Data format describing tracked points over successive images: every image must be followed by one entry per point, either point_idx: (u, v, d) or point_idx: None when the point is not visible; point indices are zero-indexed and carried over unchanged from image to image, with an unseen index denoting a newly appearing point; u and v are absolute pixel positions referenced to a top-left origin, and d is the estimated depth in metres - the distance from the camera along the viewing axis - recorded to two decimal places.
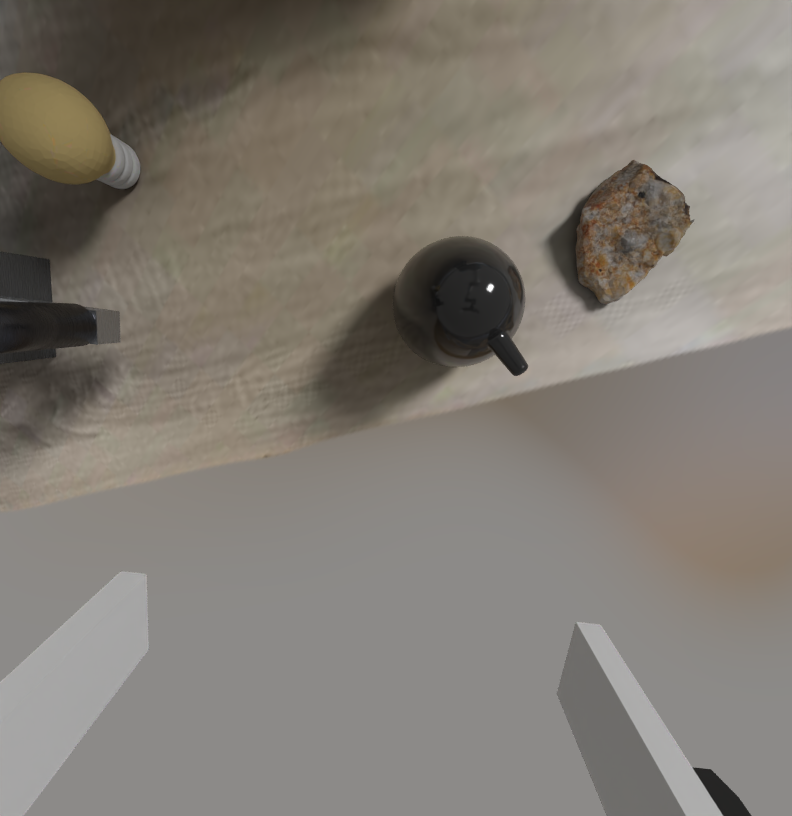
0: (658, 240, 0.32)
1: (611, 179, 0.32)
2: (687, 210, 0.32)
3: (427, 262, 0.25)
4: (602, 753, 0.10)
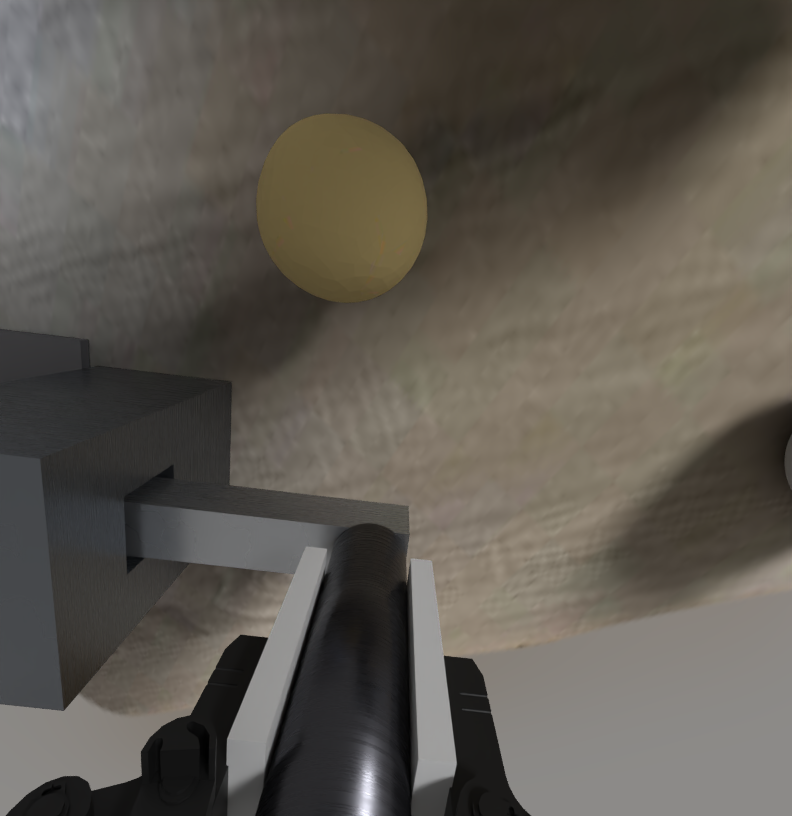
0: None
1: None
2: None
3: None
4: None
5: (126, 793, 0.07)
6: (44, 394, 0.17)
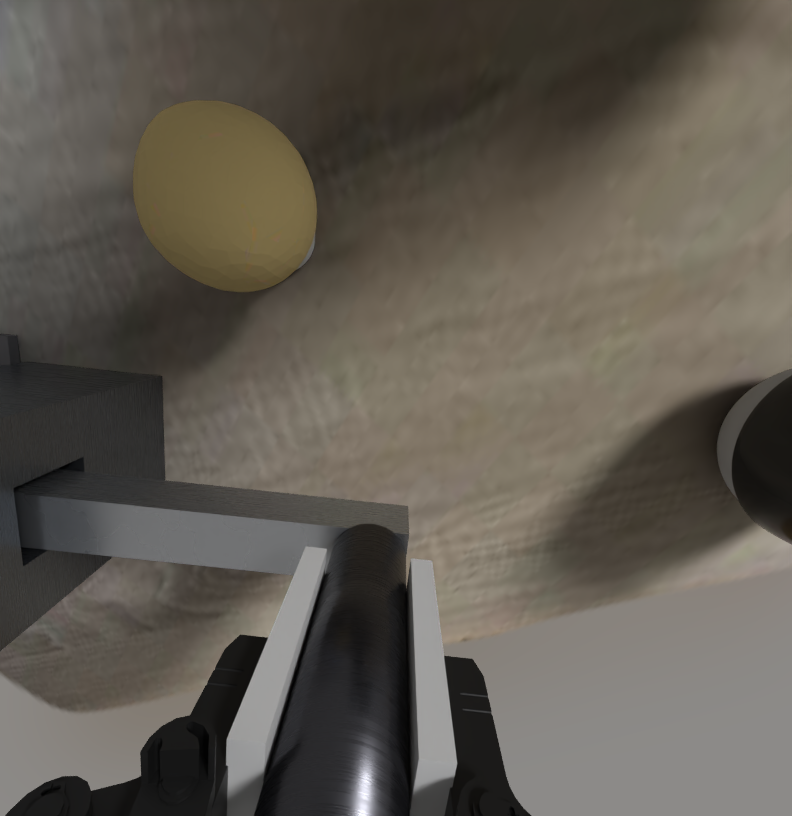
0: None
1: None
2: None
3: None
4: None
5: (126, 793, 0.07)
6: None
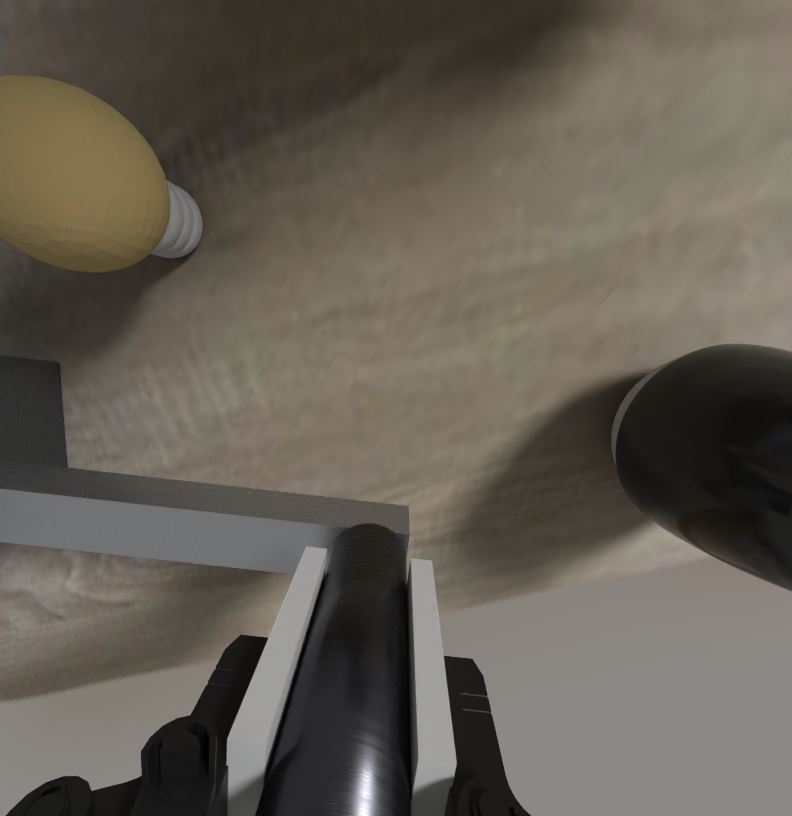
0: None
1: None
2: None
3: None
4: None
5: (126, 793, 0.07)
6: None
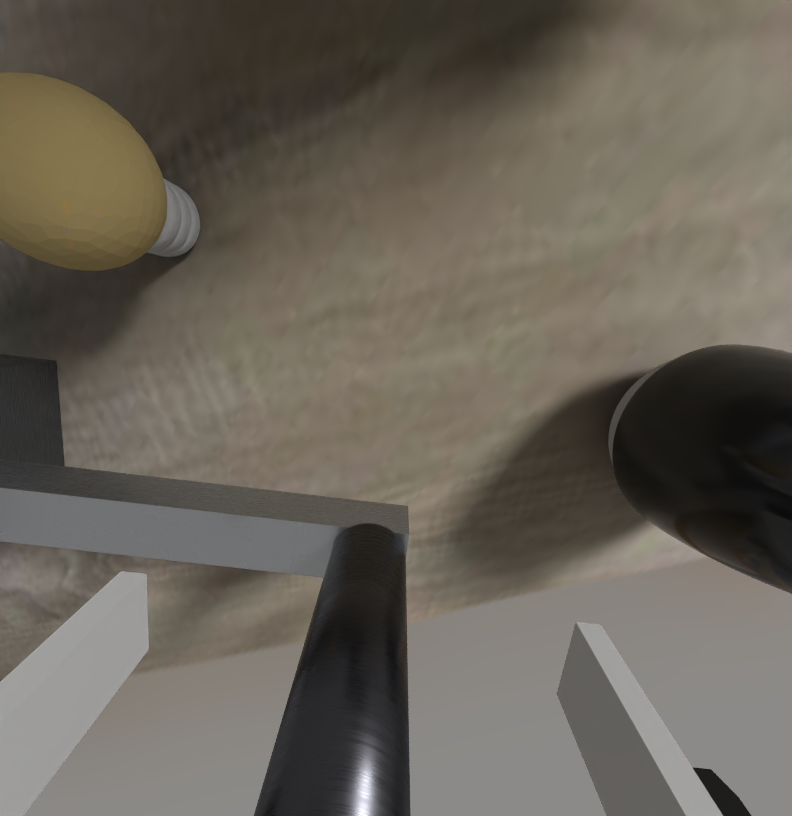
0: None
1: None
2: None
3: None
4: (602, 753, 0.10)
5: None
6: None
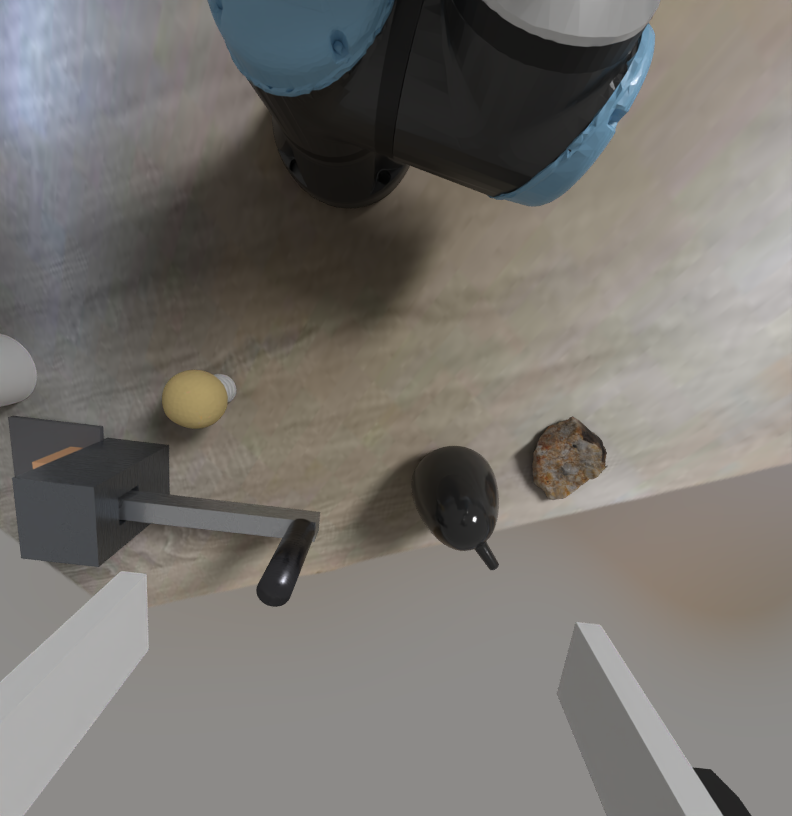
0: (585, 472, 0.49)
1: (557, 429, 0.49)
2: (604, 456, 0.48)
3: (436, 495, 0.41)
4: (602, 753, 0.10)
5: None
6: (88, 459, 0.45)
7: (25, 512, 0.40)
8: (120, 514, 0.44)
